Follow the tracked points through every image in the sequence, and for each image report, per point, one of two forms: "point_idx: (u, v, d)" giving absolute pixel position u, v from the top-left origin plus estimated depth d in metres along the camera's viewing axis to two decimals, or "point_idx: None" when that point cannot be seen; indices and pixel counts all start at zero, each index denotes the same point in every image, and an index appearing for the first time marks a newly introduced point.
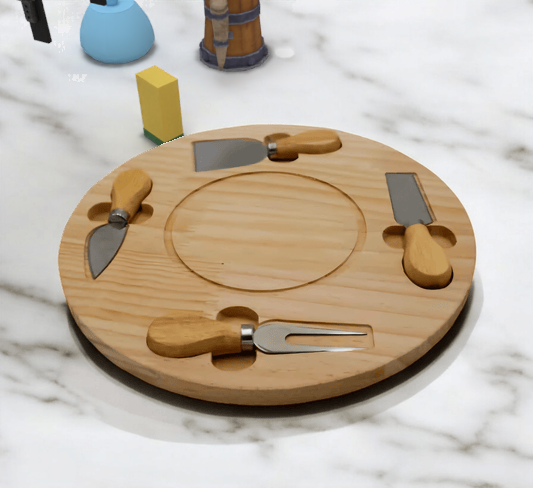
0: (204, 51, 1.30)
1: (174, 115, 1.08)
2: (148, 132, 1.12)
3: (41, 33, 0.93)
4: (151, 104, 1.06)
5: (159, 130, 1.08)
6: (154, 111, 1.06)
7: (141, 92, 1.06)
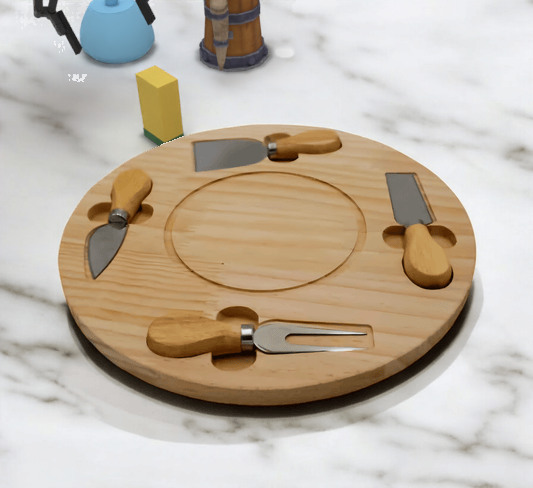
0: (204, 51, 1.30)
1: (174, 115, 1.08)
2: (148, 132, 1.12)
3: None
4: (151, 104, 1.06)
5: (159, 130, 1.08)
6: (154, 111, 1.06)
7: (141, 92, 1.06)
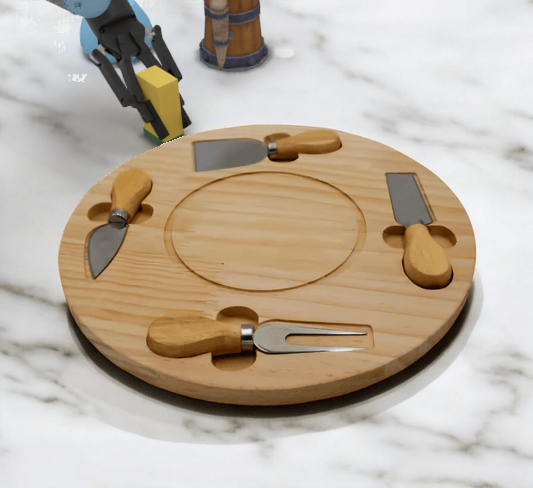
0: (204, 51, 1.30)
1: (174, 115, 1.08)
2: (148, 132, 1.12)
3: None
4: None
5: None
6: None
7: None
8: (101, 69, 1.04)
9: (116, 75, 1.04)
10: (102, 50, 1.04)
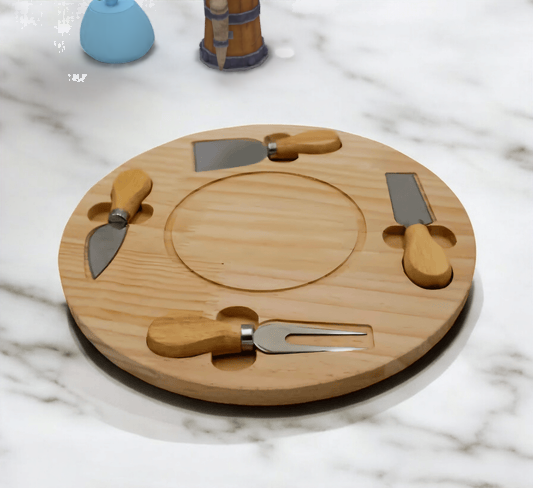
0: (204, 51, 1.30)
1: None
2: None
3: None
4: None
5: None
6: None
7: None
8: None
9: None
10: None
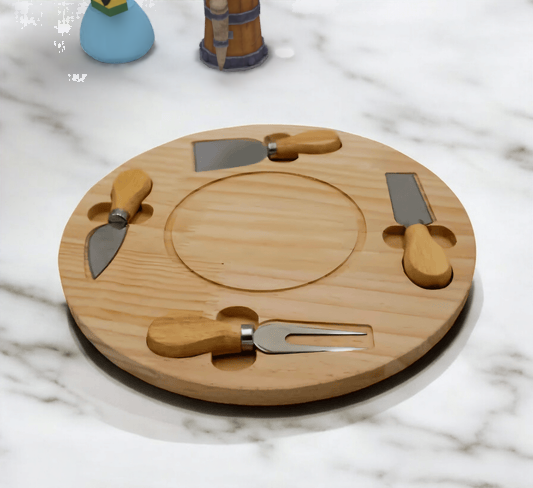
0: (204, 51, 1.30)
1: None
2: (95, 2, 1.22)
3: None
4: None
5: None
6: None
7: None
8: None
9: None
10: None
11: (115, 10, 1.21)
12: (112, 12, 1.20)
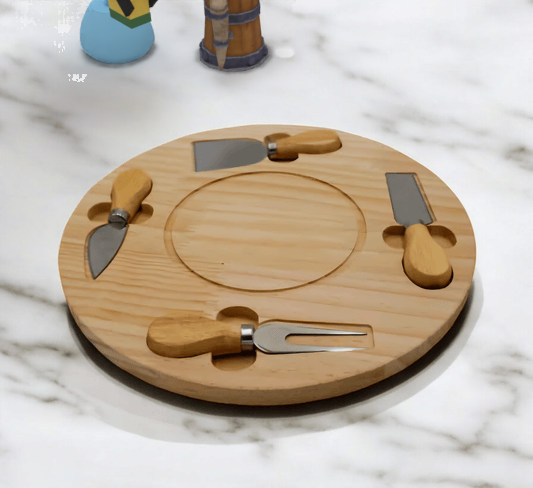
0: (204, 51, 1.30)
1: None
2: (114, 12, 1.09)
3: None
4: None
5: None
6: None
7: None
8: None
9: None
10: None
11: (137, 22, 1.08)
12: (134, 23, 1.07)
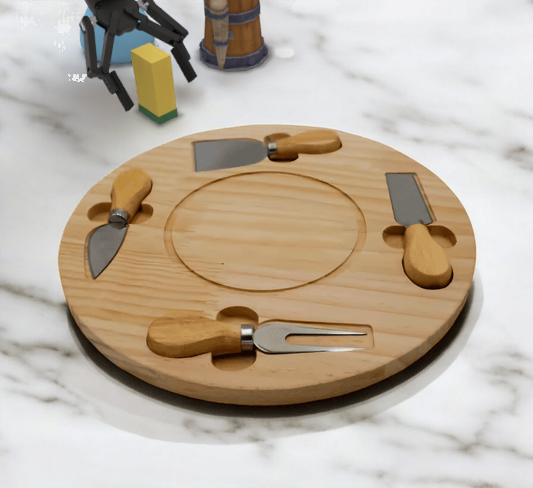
0: (204, 51, 1.30)
1: (168, 91, 1.13)
2: (143, 108, 1.17)
3: None
4: (145, 79, 1.11)
5: (153, 104, 1.14)
6: (149, 86, 1.12)
7: (136, 68, 1.12)
8: (84, 36, 1.08)
9: (93, 45, 1.07)
10: (93, 21, 1.08)
11: (165, 118, 1.16)
12: (162, 119, 1.15)
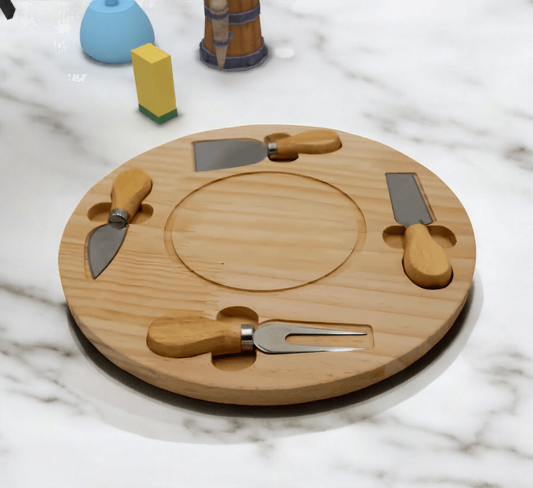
0: (204, 51, 1.30)
1: (168, 91, 1.13)
2: (143, 108, 1.17)
3: None
4: (145, 79, 1.11)
5: (153, 104, 1.14)
6: (149, 86, 1.12)
7: (136, 68, 1.12)
8: None
9: None
10: None
11: (165, 118, 1.16)
12: (162, 119, 1.15)
